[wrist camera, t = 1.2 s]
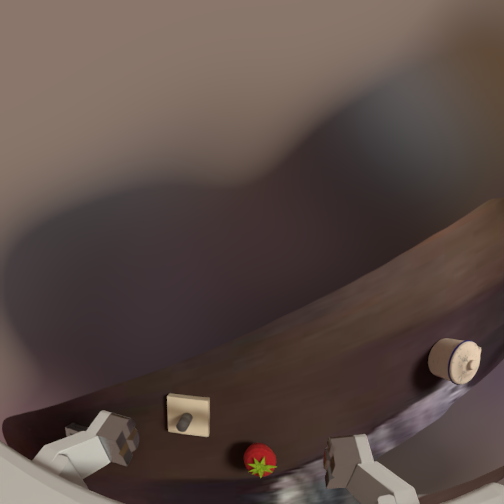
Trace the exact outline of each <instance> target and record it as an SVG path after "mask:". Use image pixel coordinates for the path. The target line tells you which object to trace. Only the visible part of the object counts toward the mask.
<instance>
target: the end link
mask: <svg viewBox="0 0 504 504" xmlns="http://www.w3.org/2000/svg"><path fill="white" fill-rule="evenodd" d="M87 429H88V427H85V426H82V425H79V424H76V423H73V422H72V423H71V424H69V425H68V426H66V427H65V430H66V436H67V437H68V436H71V435H73V434H76V433H78V432H81V431H85V432H86V430H87Z"/></svg>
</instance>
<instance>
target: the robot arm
mask: <svg viewBox="0 0 504 504" xmlns="http://www.w3.org/2000/svg"><path fill="white" fill-rule="evenodd" d="M134 426H135V421H134V419H132V418H128V417H125V416H121V415H118V414H115V413H111V412H108V411H105V410H103V411H101V412H100V413H99V414H98V415H97V417H96V418H95V419H94V421H93V422H92V423H91V425H90V426H89V428H88V429H87V430H86V432H85V431H81V432H78V433H76V434H73V435H71V436H68V437H66V438H63V439H60V440H58V441H55V442H52V443H50V444H47V445H44V447H43V448H42V449H41V450H40V451H39V453H38V454H37V455H36V456H35V458H34V459H33V460H32V461H31V460H29V459H28V458H26V457H24V456H23V455H21V454H20V453H18V452H16V451H15V450H13V449H12V448H10V447H9V446H7V445H6V444H5V443H3V442H1V441H0V504H124V503H121V502H119V501H116V500H113V499H110V498H108V497H105V496H102V495H100V494H97V493H95V492H92V491H90V490H88V487H87V486H86V484H85V483H84V481H83V480H82V479H84V478H85V477H87V476H89V475H91V474H92V473H94V472H96V471H97V470H99V469H100V468H102V467H104V466H105V465H107V464H109V463H110V461H111V462H114V463H118V464H121V465H125V466H128V464H129V462H130V460H131V458H132V453H131V452H132V451H134V450H136V448H137V446H138V444H139V433H138V431H137V430H136V429H135V428H134ZM327 445H328V448H326V449H325V452H324V459H323V460H324V469H325V470H326V471H327V472H326V475H325V481H326V489H330V488H345V487H347V489H348V491H349V492H350V493H351V494H352V495H353V496H354V497H355V498H356V499H357V500H358V501H359V502H360V503H361V504H419V501H418V498H417V495H416V492H415V489H414V488H413V487H412V486H410V485H409V484H407V483H406V482H405V481H403V480H402V479H400V478H399V477H398V476H396V475H395V474H394V473H392V472H391V471H389V470H388V469H387V468H385V467H384V466H383V465H381V464H380V463H379V462H374V460H373V457H372V453H371V450H370V446H369V443H368V440H367V436H366V435H365V434H361V435H349V436H337V437H329V438H328V441H327ZM441 504H504V485H500V484H497V483H490V484H487V485H485V486H483V487H481V488H478V489H476V490H474V491H472V492H469V493H467V494H465V495H462V496H460V497H457V498H455V499H452V500H449V501H447V502H444V503H441Z"/></svg>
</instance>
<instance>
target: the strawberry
mask: <svg viewBox="0 0 504 504" xmlns="http://www.w3.org/2000/svg"><path fill="white" fill-rule="evenodd" d="M244 463H245V466H246V468H247V470H248V472H250V473H252V475H256V476H260V478H261V477H263V476H267V475H269V474H271V473H273V471H274V469H275V467H277V466H276V456H275V454H274V453H273V451H272V450H271V449H270V448H269V447H268V446H267V445H265V444H263V443H254V444H252V445H250V446H249V447H248V448H247V450H246V451H245V453H244Z"/></svg>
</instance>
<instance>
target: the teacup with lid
mask: <svg viewBox="0 0 504 504" xmlns="http://www.w3.org/2000/svg"><path fill="white" fill-rule="evenodd" d="M480 353H481V348H480V347H478V346H477V345H476V344H475V343H474V342H473V341H470V340H467V341H461V340H455V339H448V338H444V339H441V340H439V341H438V342H437V343H436V344H435V345H434V346H433V347H432V349H431V351H430V354H429V358H428V366H429V369H430V371H431V373H432V374H434V375H436V376H438V377H441V378H444V379H446V380H449V381H452V382H453V383H454V384H457V385H461V384H465V383H467V382H468V381H469V380H471V379H472V378H473V376H474V375H475V373H476V372H477V370H478V367H479V363H480Z"/></svg>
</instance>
